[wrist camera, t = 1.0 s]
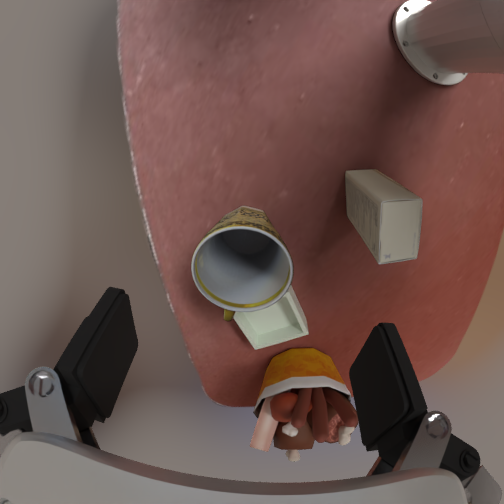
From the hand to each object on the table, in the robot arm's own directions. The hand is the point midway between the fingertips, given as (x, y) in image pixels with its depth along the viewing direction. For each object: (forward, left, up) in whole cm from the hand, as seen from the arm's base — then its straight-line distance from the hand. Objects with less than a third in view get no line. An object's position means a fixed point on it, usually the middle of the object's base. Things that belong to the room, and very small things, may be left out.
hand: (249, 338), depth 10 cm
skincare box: (-11, +7, -26) cm, 29 cm away
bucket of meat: (+7, +34, -26) cm, 43 cm away
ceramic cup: (+5, +7, -26) cm, 27 cm away
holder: (+7, +19, -25) cm, 32 cm away
